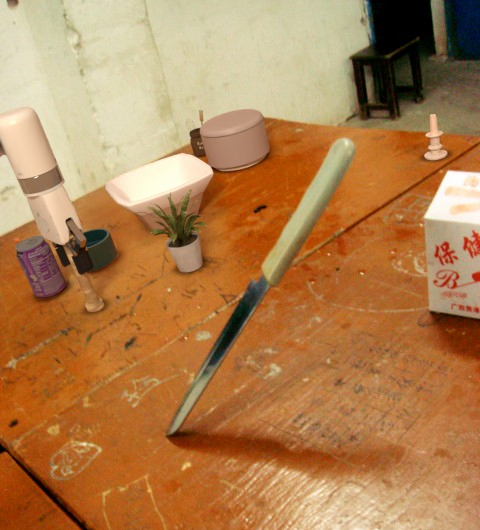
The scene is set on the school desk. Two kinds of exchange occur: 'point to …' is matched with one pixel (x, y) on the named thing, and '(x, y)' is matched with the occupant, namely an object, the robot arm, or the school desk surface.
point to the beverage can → (40, 266)
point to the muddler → (85, 286)
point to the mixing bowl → (100, 247)
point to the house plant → (181, 235)
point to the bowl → (161, 187)
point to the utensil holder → (197, 139)
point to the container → (235, 139)
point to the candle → (434, 141)
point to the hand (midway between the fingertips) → (78, 266)
